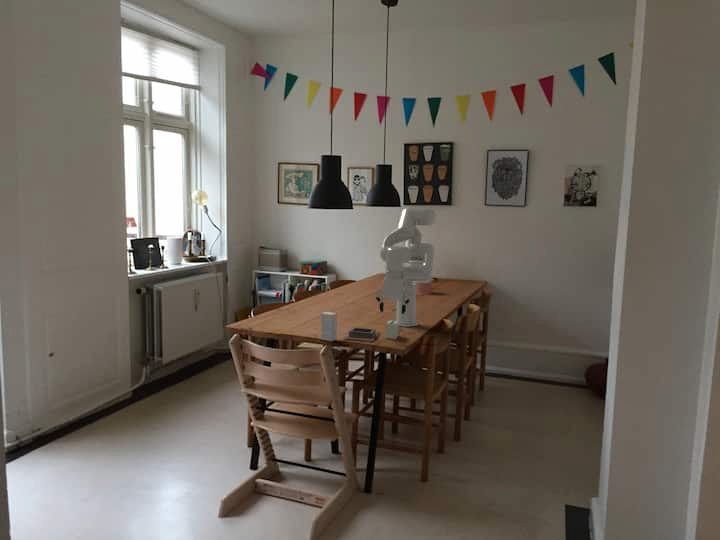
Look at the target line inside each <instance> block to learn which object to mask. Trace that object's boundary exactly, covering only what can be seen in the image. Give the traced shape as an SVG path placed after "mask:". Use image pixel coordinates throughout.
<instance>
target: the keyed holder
mask: <svg viewBox="0 0 720 540" xmlns="http://www.w3.org/2000/svg"><path fill="white" fill-rule="evenodd" d="M380 334H381V332H376V328H366V327H365V328H364V327H354V326H353V327H351V329H350V330H349V331H348V334H347V335H345V337H343V340H344V339H351V340H350V341H353V340H360V341H359V342H364V341H368V342H367V343H373V342H374V341H375V340H376V339H377V338H378V337H379V335H380ZM376 337H377V338H376ZM375 338H376V339H375Z"/></svg>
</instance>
